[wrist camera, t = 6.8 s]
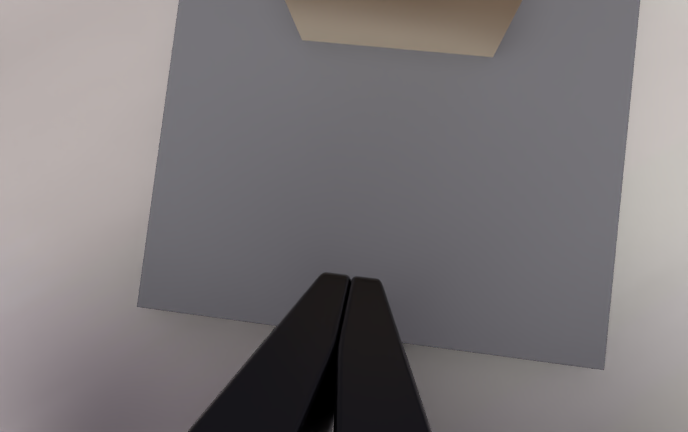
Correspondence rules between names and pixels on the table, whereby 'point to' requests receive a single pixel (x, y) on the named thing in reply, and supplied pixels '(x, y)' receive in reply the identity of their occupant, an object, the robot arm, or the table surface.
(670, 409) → the table surface
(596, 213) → the rubber mat
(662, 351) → the table surface
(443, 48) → the maple block
